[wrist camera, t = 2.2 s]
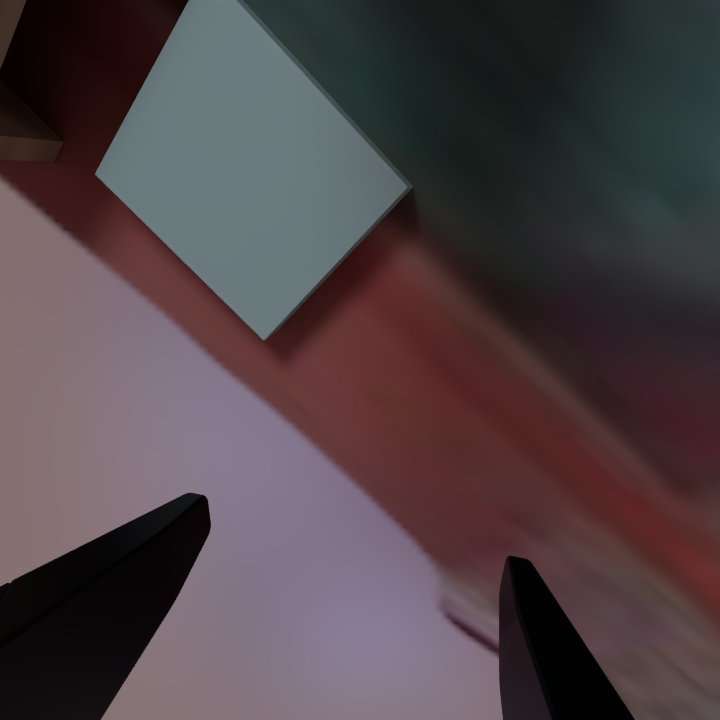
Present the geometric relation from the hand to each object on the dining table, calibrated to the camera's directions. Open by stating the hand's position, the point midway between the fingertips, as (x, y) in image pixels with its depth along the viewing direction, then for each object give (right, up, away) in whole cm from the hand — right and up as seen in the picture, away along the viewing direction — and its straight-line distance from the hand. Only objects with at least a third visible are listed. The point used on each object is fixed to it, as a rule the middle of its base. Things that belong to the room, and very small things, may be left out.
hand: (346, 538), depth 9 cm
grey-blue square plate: (-4, +12, +10) cm, 16 cm away
